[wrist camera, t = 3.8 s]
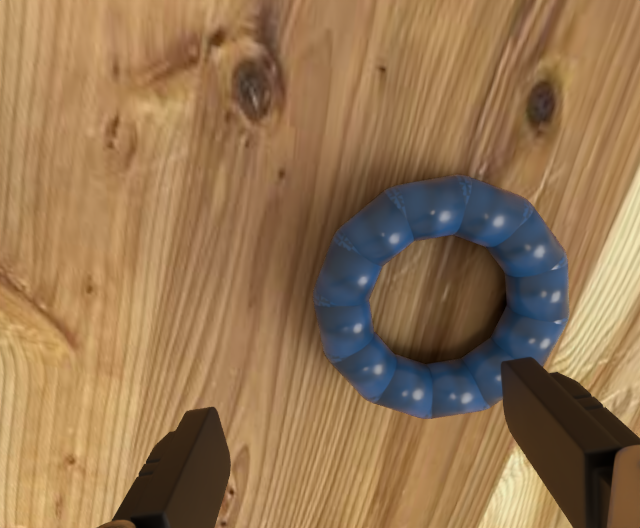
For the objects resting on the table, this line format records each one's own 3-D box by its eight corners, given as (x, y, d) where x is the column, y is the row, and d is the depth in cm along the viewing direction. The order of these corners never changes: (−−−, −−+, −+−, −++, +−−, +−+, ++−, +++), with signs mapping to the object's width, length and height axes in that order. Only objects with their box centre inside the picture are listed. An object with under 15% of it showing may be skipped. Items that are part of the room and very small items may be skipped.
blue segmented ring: (337, 412, 21) (339, 444, 18) (295, 201, 18) (291, 208, 16) (553, 378, 20) (583, 407, 18) (544, 155, 17) (578, 155, 15)
